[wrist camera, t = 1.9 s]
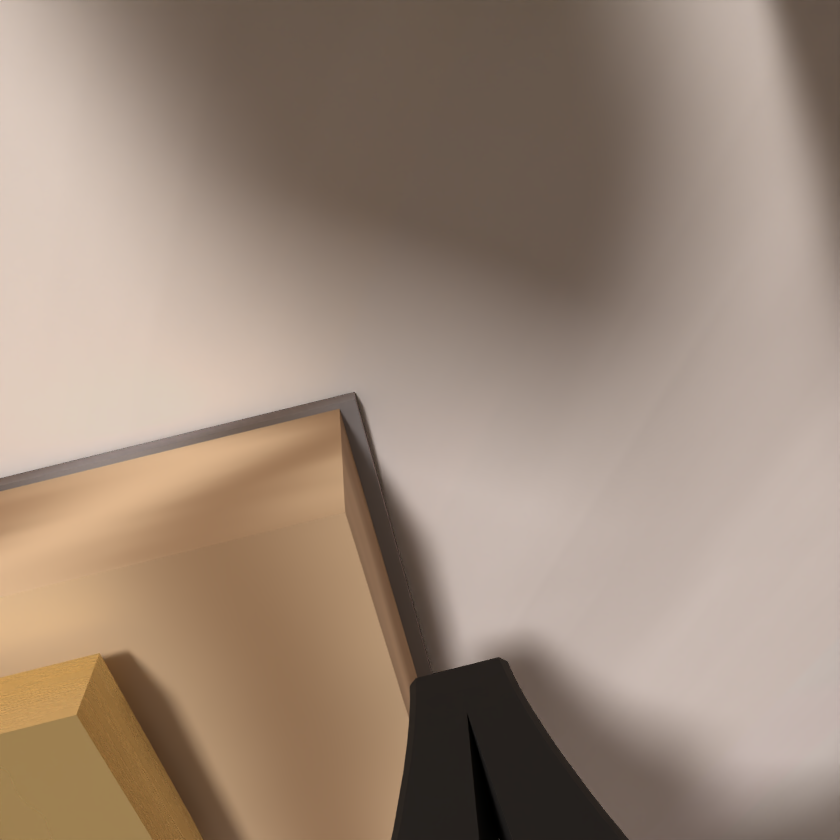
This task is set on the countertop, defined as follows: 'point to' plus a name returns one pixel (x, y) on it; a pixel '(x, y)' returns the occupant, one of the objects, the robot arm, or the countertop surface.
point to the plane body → (231, 614)
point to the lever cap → (81, 761)
